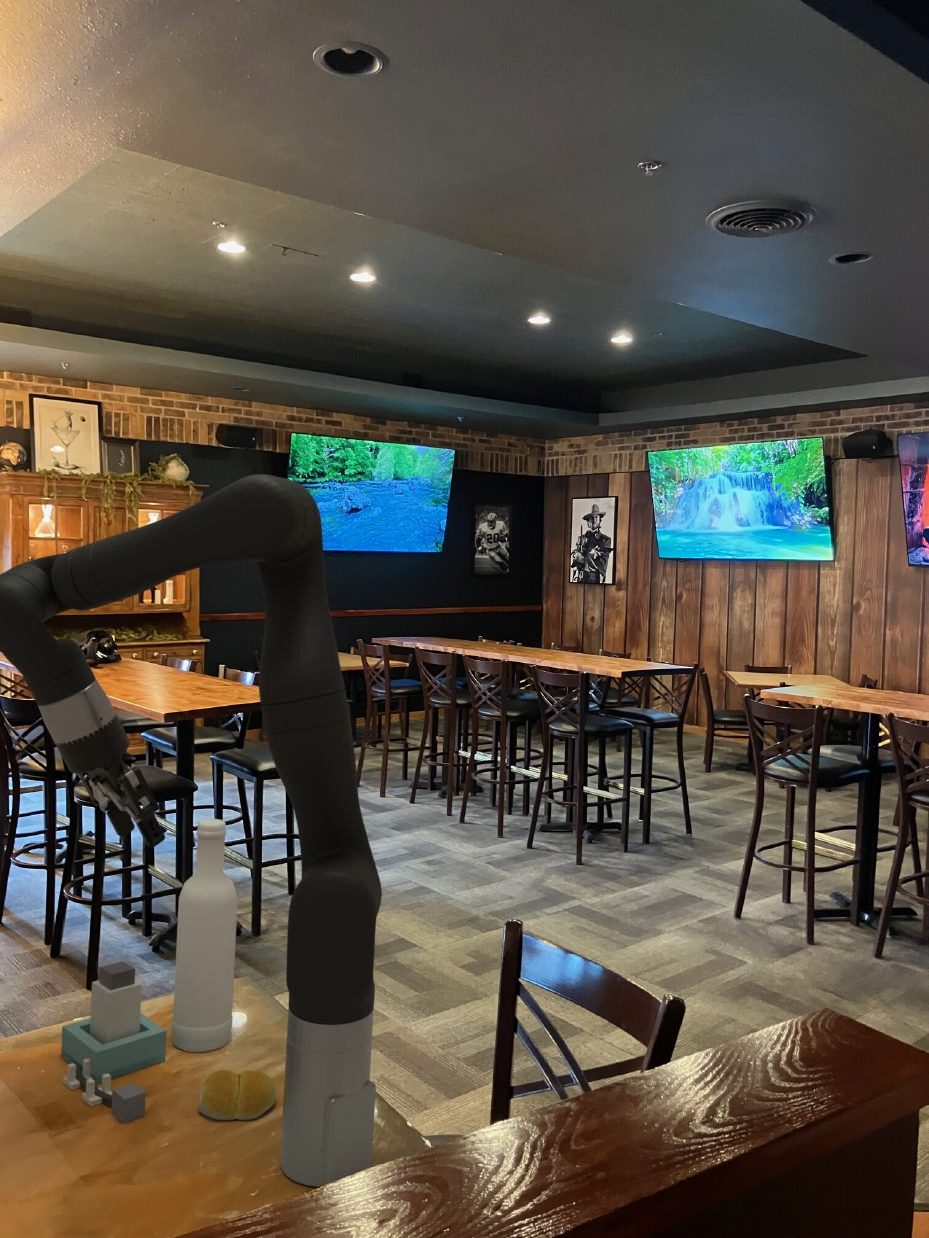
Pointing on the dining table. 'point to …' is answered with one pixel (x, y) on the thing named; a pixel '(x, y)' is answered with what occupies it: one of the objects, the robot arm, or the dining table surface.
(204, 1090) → the bread roll
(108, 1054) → the end socket
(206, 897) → the bottle
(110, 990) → the block
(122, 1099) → the cable run
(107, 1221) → the dining table surface
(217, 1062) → the dining table surface
